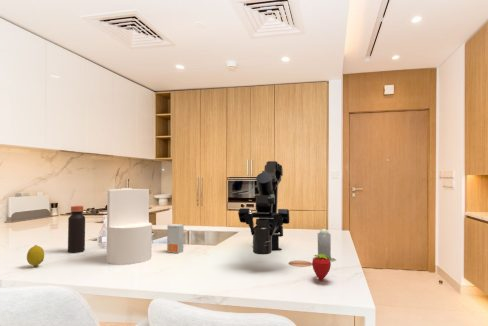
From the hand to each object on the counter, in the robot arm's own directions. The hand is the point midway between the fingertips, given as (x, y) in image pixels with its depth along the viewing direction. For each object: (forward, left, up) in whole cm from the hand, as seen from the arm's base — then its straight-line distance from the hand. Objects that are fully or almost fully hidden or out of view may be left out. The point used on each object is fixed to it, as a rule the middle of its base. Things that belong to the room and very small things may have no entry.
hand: (261, 234), depth 120 cm
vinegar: (-53, -68, -13) cm, 88 cm away
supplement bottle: (-1, +1, -7) cm, 7 cm away
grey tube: (-6, +29, -12) cm, 32 cm away
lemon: (-30, -78, -13) cm, 85 cm away
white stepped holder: (-32, -45, -13) cm, 57 cm away
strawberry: (+16, +15, -13) cm, 25 cm away
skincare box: (-39, -26, -13) cm, 49 cm away
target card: (-5, +22, -13) cm, 26 cm away
